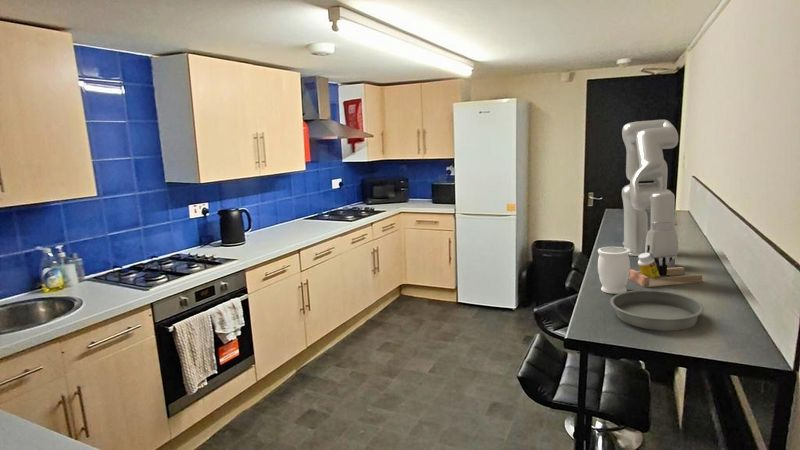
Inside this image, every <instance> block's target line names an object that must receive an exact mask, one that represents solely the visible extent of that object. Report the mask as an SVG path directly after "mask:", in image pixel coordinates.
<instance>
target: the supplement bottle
mask: <svg viewBox="0 0 800 450" xmlns="http://www.w3.org/2000/svg"><path fill="white" fill-rule="evenodd" d="M637 257H638V261H637V265H638V268H639V271H641V274H643V275H645V276H647V277H649V279H652V278H661V276H659V272H658V269H657V266H656V263H655V260H654V258H651V255H650V253H642V254H640V255H639V256H637Z"/></svg>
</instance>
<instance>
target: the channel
mask: <svg viewBox="0 0 800 450" xmlns="http://www.w3.org/2000/svg"><path fill="white" fill-rule="evenodd" d="M667 275H670V276H660V275H659V276H660V278H652V279H649V277H647V276H645V275H643V274H641V271H640V270H634V269H633V268H630V273H629V278H628V280H631V281H633V282H634V283H636V284H638V285H640V286H642V287H643V288H652V287H661V286H670V285H671V286H673V285H682V284H693V283H694V284H695V283H703V274H699V273H698V274H697V273H696V274H687V275H686V274H685V267H683V266H676V267H674V268H667Z"/></svg>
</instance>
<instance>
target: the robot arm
mask: <svg viewBox="0 0 800 450" xmlns="http://www.w3.org/2000/svg"><path fill="white" fill-rule="evenodd" d="M621 135H622V137H621V138H622V141H623V143H624V146H625V150H626V155H625V157H626V160H625V161H626V162H625V164H626V165H625V174H626V175H625V176H626V179H627V180H628V181H630V182H629V184H627V185H624V187H622V189H621V198H622V203H623V204H622V205H623V241H622V243H621V244H622V245H623V248H627V249H629V250H630V254H628V256H631V257H638V256H639V255H640V254H642V253H650V255H651V258H654V260H655V263H656V264H657V269H658V272H659V275H660V277H667V276H666V275H667V265H668V264H669V262H670V261H671V260H673V259H675V260H676V259H677V258H678V253H679V239H678V235H677V234H678V233H677V230H676V229H675V226H677V225H678V222H677V221H675V213H676V212H675V209H676V207H675V205H676V204H675V203H676V202H675V200H676V199H675V194H674V193H673V191H671V190H670V189H667V188H668V170H669V169H668V164H667V161H666V160H665V159H664V152H663V150H666V149H667V150H668V149H675V147H676V146H678V143H679V134H678V131H677V128H676V127H675V126H674V125H673V124H672V123H671V121H669V120H667V119H654V120H653V119H652V120H641V121H633V122H628V123H626V124H624V125H623V127H622V130H621ZM647 181H650V182H647ZM651 181H653V182H651ZM639 182H642V183H639ZM646 182H647V183H646ZM648 210H649V211H650V228H649V229H648V226H649V225H648V223H649V220H648V212H647V211H648Z"/></svg>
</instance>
